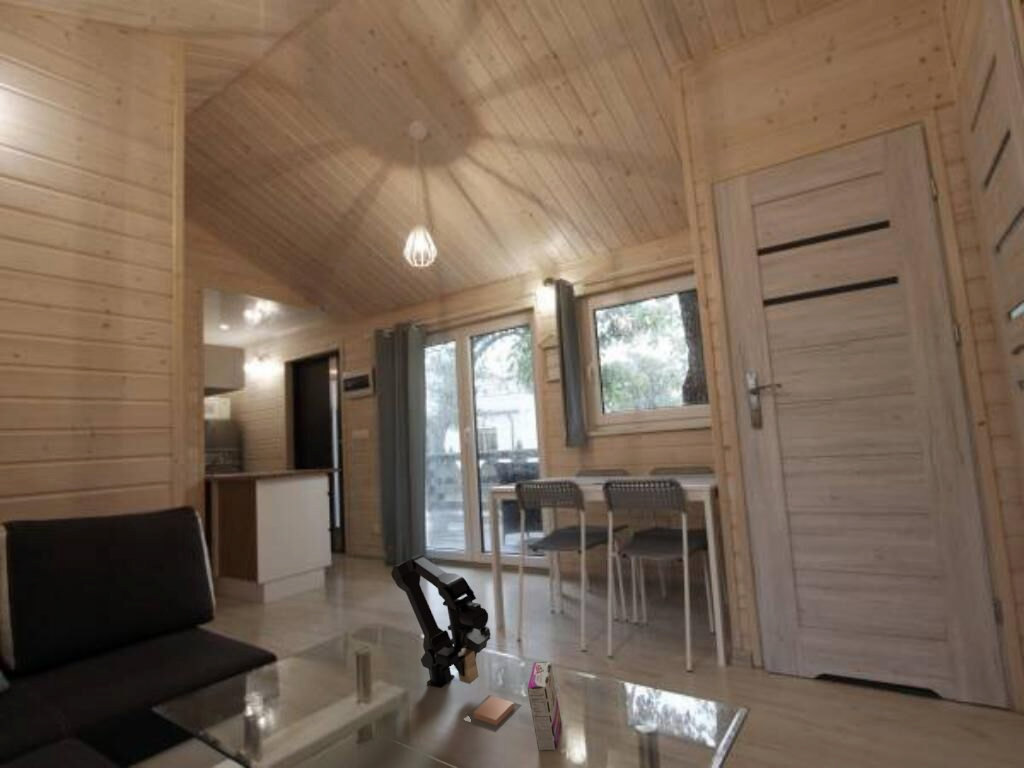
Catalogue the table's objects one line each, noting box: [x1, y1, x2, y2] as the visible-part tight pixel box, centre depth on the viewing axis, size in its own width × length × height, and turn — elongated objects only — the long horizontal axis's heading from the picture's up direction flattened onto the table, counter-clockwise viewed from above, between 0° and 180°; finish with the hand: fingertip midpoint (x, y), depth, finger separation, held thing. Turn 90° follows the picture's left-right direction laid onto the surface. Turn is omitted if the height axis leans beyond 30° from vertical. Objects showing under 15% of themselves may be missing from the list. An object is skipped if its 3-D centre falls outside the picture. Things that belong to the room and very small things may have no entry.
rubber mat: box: [467, 694, 522, 733], centre depth 153 cm, size 12×12×1 cm
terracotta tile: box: [473, 695, 515, 726], centre depth 153 cm, size 2×8×8 cm
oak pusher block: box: [457, 648, 479, 685], centre depth 163 cm, size 4×4×8 cm
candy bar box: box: [526, 661, 562, 752], centre depth 140 cm, size 11×5×16 cm, turn 168°
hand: (467, 672), depth 163 cm, fingers closed on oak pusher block, 4 cm apart
